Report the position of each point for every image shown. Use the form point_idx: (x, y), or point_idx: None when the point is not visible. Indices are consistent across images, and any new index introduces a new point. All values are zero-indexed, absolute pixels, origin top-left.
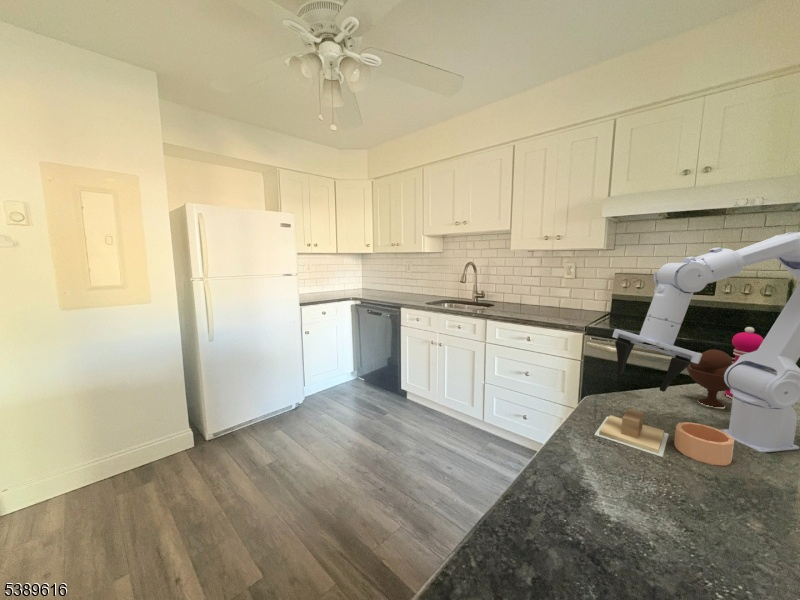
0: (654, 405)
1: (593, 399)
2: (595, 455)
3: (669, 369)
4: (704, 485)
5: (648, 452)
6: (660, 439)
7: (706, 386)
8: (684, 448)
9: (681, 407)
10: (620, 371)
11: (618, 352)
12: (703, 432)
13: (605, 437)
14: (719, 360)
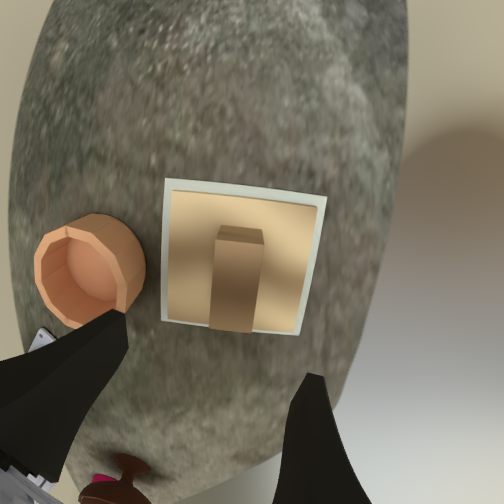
0: (205, 438)
1: None
2: (311, 90)
3: (35, 378)
4: (99, 117)
5: (194, 180)
6: (170, 257)
7: (126, 486)
8: (120, 232)
9: (163, 446)
10: (308, 386)
11: (354, 487)
12: (89, 315)
13: (298, 196)
14: None
